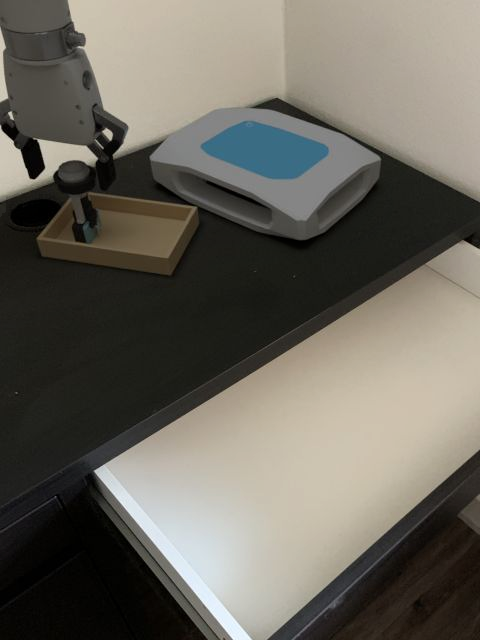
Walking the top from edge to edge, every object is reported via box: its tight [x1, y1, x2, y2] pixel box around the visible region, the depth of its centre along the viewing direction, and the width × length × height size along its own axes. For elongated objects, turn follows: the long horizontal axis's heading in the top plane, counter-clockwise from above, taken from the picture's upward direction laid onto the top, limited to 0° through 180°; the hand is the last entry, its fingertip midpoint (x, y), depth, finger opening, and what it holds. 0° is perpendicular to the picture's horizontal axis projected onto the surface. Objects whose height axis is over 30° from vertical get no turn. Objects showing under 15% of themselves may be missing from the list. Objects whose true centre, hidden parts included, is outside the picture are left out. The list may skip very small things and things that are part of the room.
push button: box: [52, 159, 102, 244], centre depth 88 cm, size 7×5×10 cm
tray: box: [35, 191, 200, 277], centre depth 91 cm, size 18×12×3 cm
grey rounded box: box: [149, 106, 382, 241], centre depth 99 cm, size 21×28×6 cm
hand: (72, 179), depth 86 cm, fingers open, 9 cm apart
